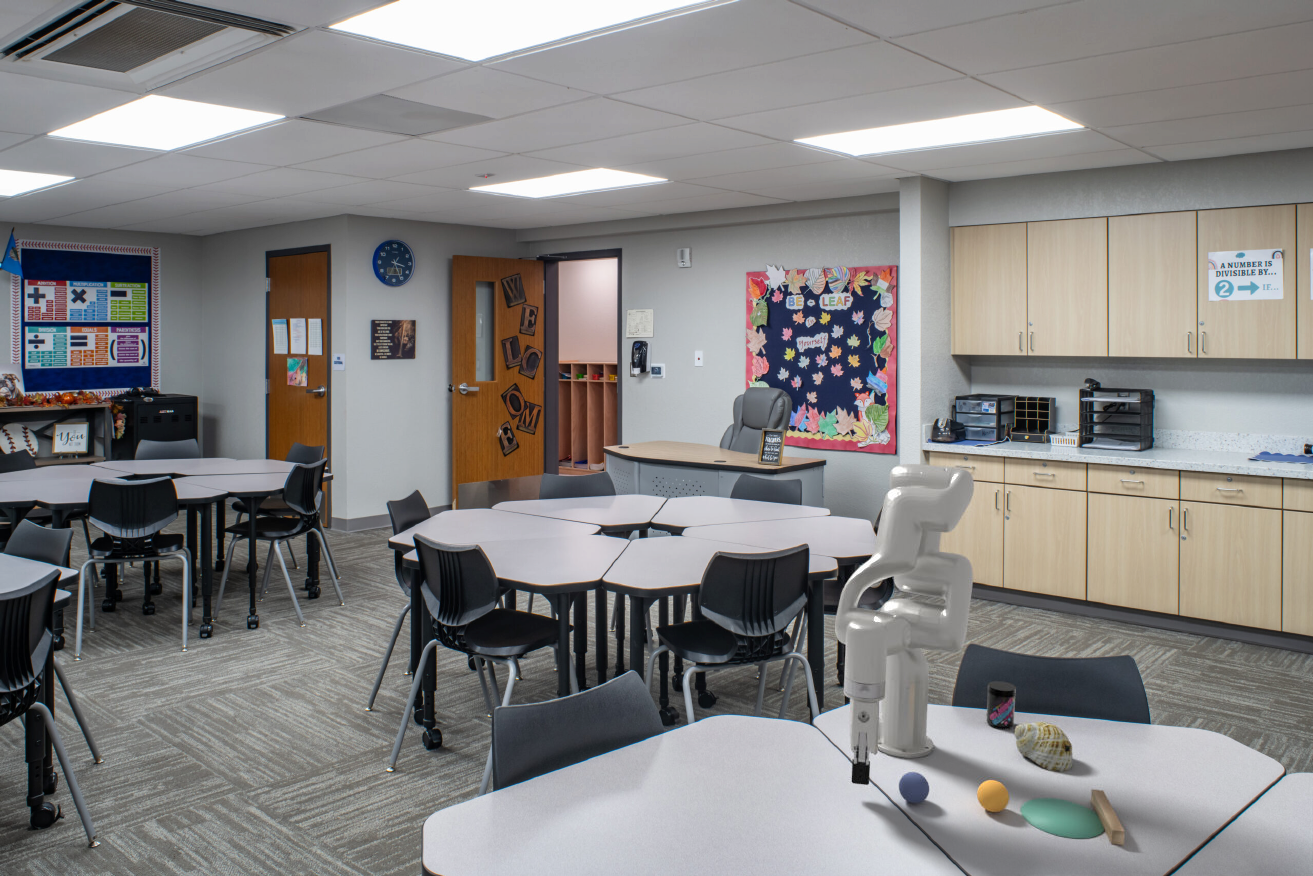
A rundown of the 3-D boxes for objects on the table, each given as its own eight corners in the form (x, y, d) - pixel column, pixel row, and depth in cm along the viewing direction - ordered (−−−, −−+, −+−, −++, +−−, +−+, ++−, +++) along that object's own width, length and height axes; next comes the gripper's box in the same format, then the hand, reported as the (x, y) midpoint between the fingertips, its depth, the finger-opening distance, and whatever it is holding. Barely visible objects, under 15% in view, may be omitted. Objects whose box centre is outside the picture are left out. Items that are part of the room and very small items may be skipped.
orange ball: (971, 810, 173) (972, 782, 173) (983, 800, 178) (985, 772, 177) (1001, 821, 170) (1002, 792, 169) (1012, 809, 174) (1014, 781, 173)
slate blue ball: (892, 802, 176) (894, 774, 176) (906, 791, 180) (907, 764, 180) (920, 812, 173) (921, 783, 172) (933, 801, 177) (935, 773, 176)
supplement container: (982, 725, 212) (984, 686, 211) (990, 717, 216) (992, 679, 215) (1009, 732, 208) (1011, 693, 207) (1017, 724, 213) (1019, 685, 212)
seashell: (1084, 770, 189) (1062, 725, 188) (1036, 787, 191) (1014, 743, 190) (1070, 745, 199) (1049, 702, 198) (1024, 762, 201) (1003, 719, 200)
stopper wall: (1111, 844, 163) (1112, 830, 162) (1090, 802, 177) (1091, 789, 177) (1123, 845, 162) (1124, 831, 162) (1102, 803, 177) (1103, 790, 176)
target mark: (1027, 833, 166) (1027, 832, 166) (1015, 795, 179) (1015, 794, 179) (1113, 843, 163) (1113, 841, 163) (1094, 803, 176) (1094, 802, 176)
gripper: (886, 703, 168) (881, 803, 169) (884, 676, 183) (879, 768, 184) (843, 699, 170) (838, 797, 171) (844, 672, 184) (840, 763, 186)
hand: (860, 782), depth 178 cm, fingers closed
